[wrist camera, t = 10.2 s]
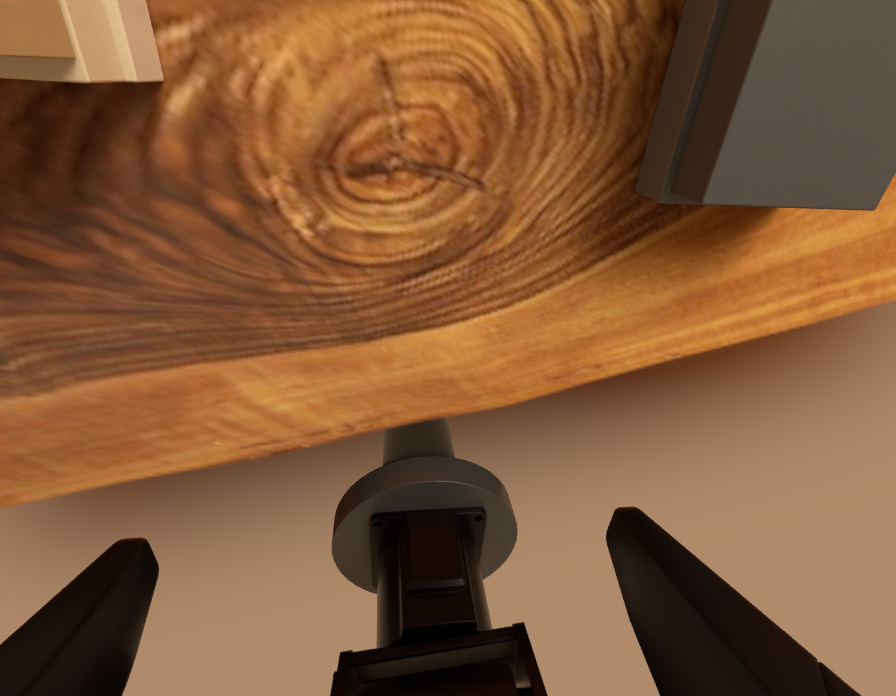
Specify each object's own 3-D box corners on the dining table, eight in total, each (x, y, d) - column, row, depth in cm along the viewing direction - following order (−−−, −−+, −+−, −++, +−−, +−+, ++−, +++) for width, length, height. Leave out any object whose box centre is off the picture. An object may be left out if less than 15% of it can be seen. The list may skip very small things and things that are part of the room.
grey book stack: (790, 197, 20) (872, 223, 17) (633, 192, 19) (686, 218, 16) (927, -112, 15) (1086, -165, 12) (722, -142, 14) (830, -210, 11)
